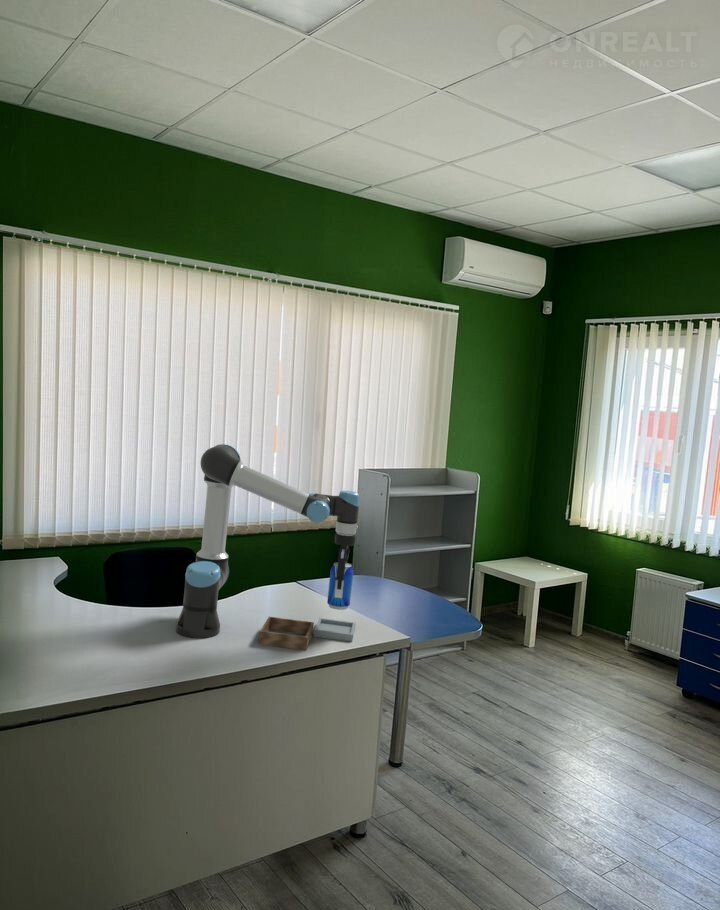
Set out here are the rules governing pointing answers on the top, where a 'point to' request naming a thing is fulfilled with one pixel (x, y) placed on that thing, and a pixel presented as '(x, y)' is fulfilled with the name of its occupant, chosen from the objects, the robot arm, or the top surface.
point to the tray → (335, 629)
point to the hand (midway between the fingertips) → (339, 594)
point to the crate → (286, 639)
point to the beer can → (347, 588)
